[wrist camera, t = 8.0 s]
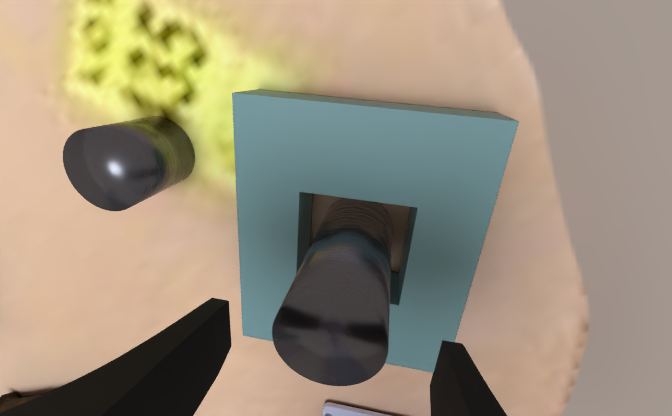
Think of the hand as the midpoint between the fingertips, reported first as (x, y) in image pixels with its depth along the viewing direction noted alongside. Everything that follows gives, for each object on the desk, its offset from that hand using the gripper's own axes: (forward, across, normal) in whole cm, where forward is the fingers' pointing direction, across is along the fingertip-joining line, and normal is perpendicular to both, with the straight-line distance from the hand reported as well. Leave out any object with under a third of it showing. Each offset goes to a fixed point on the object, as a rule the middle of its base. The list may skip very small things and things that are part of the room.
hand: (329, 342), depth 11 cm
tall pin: (+9, 0, 0) cm, 9 cm away
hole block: (+9, 0, 0) cm, 9 cm away
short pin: (+9, +12, -3) cm, 15 cm away
